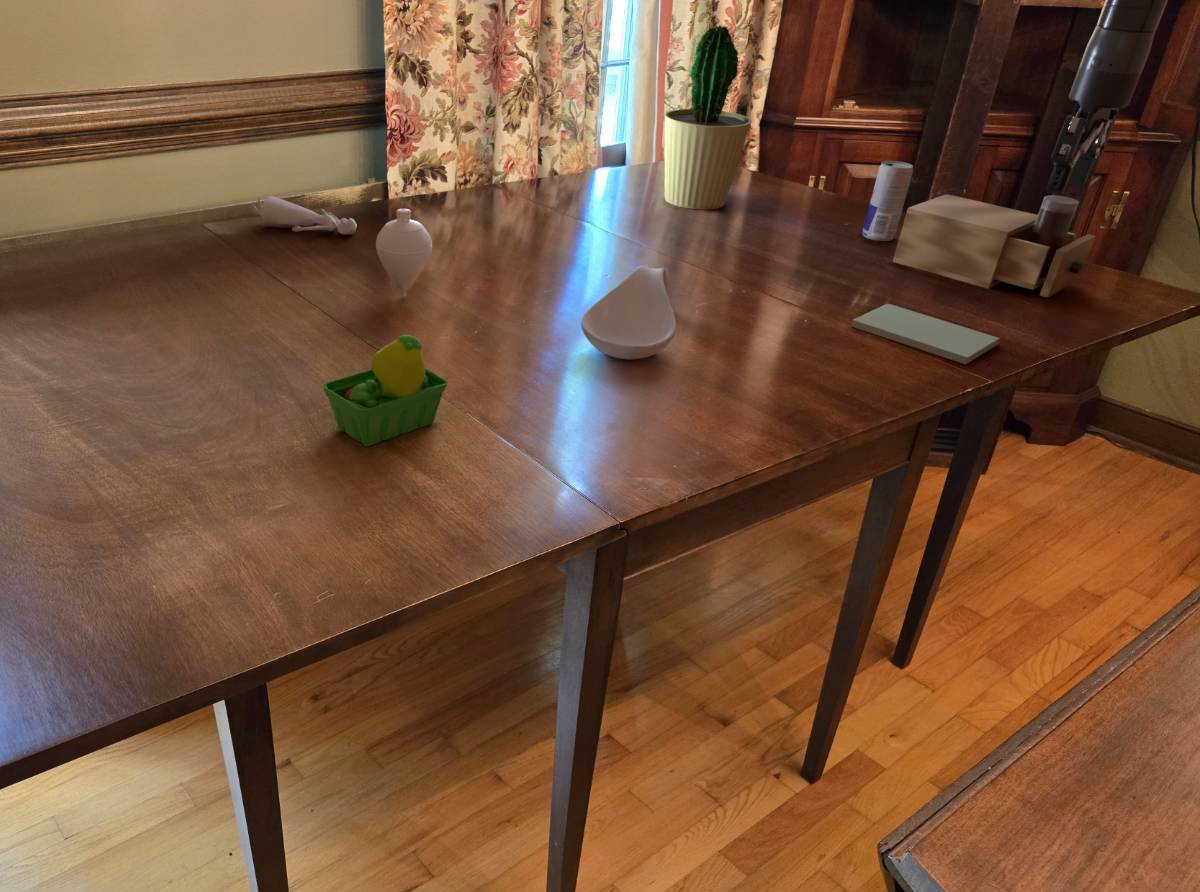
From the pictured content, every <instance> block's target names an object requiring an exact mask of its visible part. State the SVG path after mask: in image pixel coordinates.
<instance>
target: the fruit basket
mask: <svg viewBox="0 0 1200 892" xmlns="http://www.w3.org/2000/svg"><path fill="white" fill-rule="evenodd" d="M447 385H448V381H447V380H446V379H445V378H442V377H440V376H439V375H438V374H436V373H434V372H432V371H431V370H429V369H427V368H426V362H425V359H424V357H423V352H422V343H421V342H420V340H419V339H418V338H417V337H416V336H413V335H410V334H403V335H400V336H398V337H397V339H395V340H393V341H391V342H390V343H389V344H386V345H385V346H382V347H381V348H380V349H379V350H377V351H376V353H375V354H374V355H373V357H372V360H371V367H370V369H368V370H364V371H360V372H357V373H355V374H354V373H353V374H351V375H348V376H345V377H341V378H337V379H335V380H332V381H328V382H325V383H323V384H322V388H323V391H324V393H325V395H326V397H327V398H328V401H329V404H330V406H331V409H332V412H333V415H334V418H335V422H336V424H337V427H338V429H339V430H340V431H342V432H344V433H346V435H348V436H349V437H351V438H352V439H354V440H355V441H357V442H359V443H361V444H362V445H363V446H365V447H367V448H368V447H370V446H374V445H376V444H379V443H380V442H382V441H383V442H384V441H387V440H390V439H392V438H396V437H398V436H400V435H403V434H404V435H405V434H407V433H410V432H412V431H416V430H417V429H419V428H424V427H427V426H430V425H432V424H433V423H434V421H435V417H436V416H437V415H436V414H437V411H438V409H439V406H440V402H441V399H442V396H443V393H444V392H445V390H446V388H447Z"/></svg>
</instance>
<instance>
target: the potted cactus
mask: <svg viewBox="0 0 1200 892" xmlns="http://www.w3.org/2000/svg"><path fill="white" fill-rule="evenodd" d="M708 24H709V25H711V26H710V27H709V28H707V30H706V29H704V30H703V33H701V34H702V35H701V34H699V37H700V39H698V40H697V41H694V44H695V45H697V46H696V47H694V49H693V48H691V50H692V51H693V54H694V55H693V57H690V60H691V64H690V66H689V67H688V66H687V68H688V69H689V70H688V69H684V71H685V72H688V73H689V74H686V77H689V75H690V82H689V84H687V87H689V88H691V89H690V93H688V94H687V95H685V96H686V97H687V98H686V99H690V100H689V102H690V106H689V108H678V109H673V110H669V111H666V112H665V113H664V200H665V202H667V203H668V204H670V205H673V206H675V207H680V208H685V209H689V210H716V209H719V208H722V207H724V205H725V204H726V202H727V198H728V195H729V192H730V189H731V186H732V183H733V180H734V178H735V177H734V176H735V173H736V170H737V167H738V164H739V161H740V158H741V155H742V152H743V149H744V145H745V142H746V139H747V136H748V133H749V130H750V126H751V124H752V119H751V118H750V117H749V116H746V115H743V114H740V113H736V112H732V111H731V112H730V111H727V109H726V106H725V105H727V103H726V102H728V103H731V101H730V100H729V99H728V98H730V97H732V95H733V93H731V92H730V91H734V88H735V89H737V88H736V86H734V82H735V81H736V80H738V78H737V77H739V75H741V74H740V72H741V73H743V70H741V69H742V64H741V60H739V59H741V56H739V52H738V50H739V49H740V47H738V48H737V46H736V45H737V42H736V41H738V39H737V38H734V35H733V34H734V33H735V30H733V28H734V26H732V27H731V28H729V27H728V26H725V25H722V24H719V25H714V26H712V24H711V21H710V22H709V23H708ZM730 32H731V33H730ZM736 39H737V40H736ZM735 44H736V45H735ZM736 48H737V49H736ZM689 52H690V53H691V51H689ZM741 53H743V52H740V54H741ZM692 62H693V63H692ZM739 66H740V67H739ZM738 72H739V73H738ZM733 81H734V82H733ZM731 85H733V87H734V88H732V86H731ZM690 97H691V98H690ZM727 97H728V98H727Z"/></svg>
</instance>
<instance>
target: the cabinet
mask: <svg viewBox="0 0 1200 892" xmlns="http://www.w3.org/2000/svg"><path fill="white" fill-rule="evenodd" d="M1037 216H1038V214H1035V213H1030V212H1027V211H1021V210H1017V209H1014V208H1010V207H1005V206H1000V205H996V204H992V203H987V202H982V201H979V200H974V199H969V198H966V197H961V196H956V195H952V194H948V193H945V194H943V195H940V196H937V197H935V198H931V199H929V200H926V201H923V202H920V203H917V204H915V205H912V206H909V207H908V208H907V210H906V214H905V216H904V219H903V220H904V221H903V224H902V226H901V227H902V228H901V231H900V235H899V237H898V241H897V246H896V248H895V252H894V254H893V255H894V256H893V260H892V262H893V263H895V264H898V265H903V266H906V267H910V268H913V269H916V270H920V271H923V272H928V273H929V274H934V275H938V276H941V277H944V278H948V279H951V280H955V281H959V282H962V283H967V284H970V285H974V286H976V287H980V288H984V289H988V290H989V289H991V288H993V287H995V286H996V285H999V284H1001V283H1002V281H999V280H995V279H994V276H995V273H996V271H997V268H998V265H999V262H1000V259H1001V256H1002V253H1003V250H1004V248H1005V245H1006V242H1007V239H1008V237H1009V236H1011V235H1013V234H1015V233H1017V232H1020V231H1022V230H1024V229H1026V228H1028V227H1031V226H1033V225H1034V224H1035V222H1036V219H1037Z"/></svg>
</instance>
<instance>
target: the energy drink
mask: <svg viewBox="0 0 1200 892" xmlns="http://www.w3.org/2000/svg"><path fill="white" fill-rule="evenodd" d="M913 167H914V165H913V164H911V163H908V162H904V161H899V160H898V161H897V160H885V161H882V162H881V164H880V166H879V168H878V170H877V171H878V172H877V175H876V178H875V183H874V187H873V190H872V194H871V198H870V201H869V205H868V209H867V214H866V217H865V220H864V224H863V228H862V236H863V237H864V238H866V239H868V240H872V241H876V242H891V241H893V240H894V239H895V238H896V234H897V231H898V226H899V223H900V220H901V216H902V212H903V208H904V205H905V203H906V202H905V201H906V198H907V195H908V191H909V188H910V184H911V181H912V177H913V173H914V170H913V169H914V168H913Z"/></svg>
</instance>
